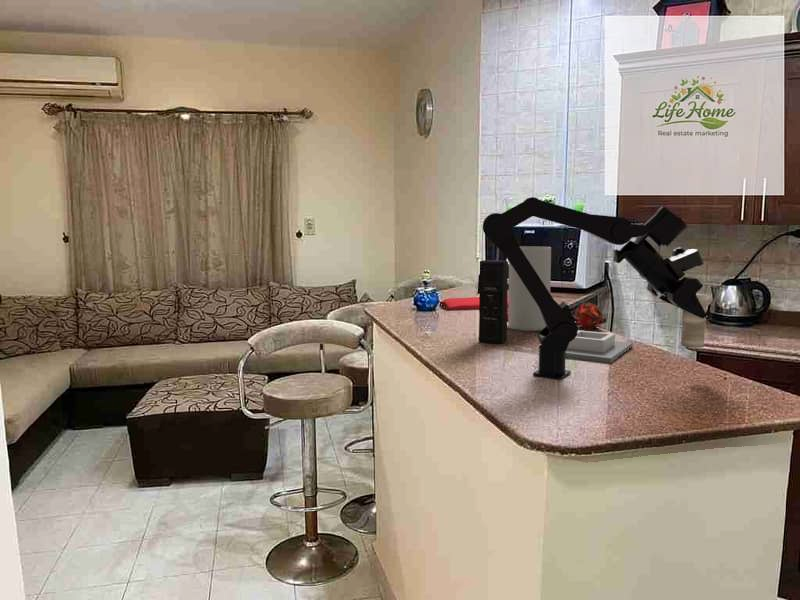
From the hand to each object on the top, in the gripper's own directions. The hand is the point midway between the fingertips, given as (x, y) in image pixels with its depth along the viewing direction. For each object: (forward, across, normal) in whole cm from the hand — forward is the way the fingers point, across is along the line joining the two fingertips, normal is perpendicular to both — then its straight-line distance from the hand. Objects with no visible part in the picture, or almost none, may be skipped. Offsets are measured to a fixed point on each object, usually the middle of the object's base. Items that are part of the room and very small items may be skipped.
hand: (700, 315), depth 128 cm
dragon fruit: (+1, +56, +18) cm, 59 cm away
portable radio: (-20, +35, +40) cm, 57 cm away
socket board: (-3, +24, +22) cm, 33 cm away
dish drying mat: (-18, +102, +38) cm, 111 cm away
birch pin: (+4, 0, +6) cm, 7 cm away
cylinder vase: (-12, +56, +31) cm, 65 cm away
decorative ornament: (-17, +72, +37) cm, 82 cm away
